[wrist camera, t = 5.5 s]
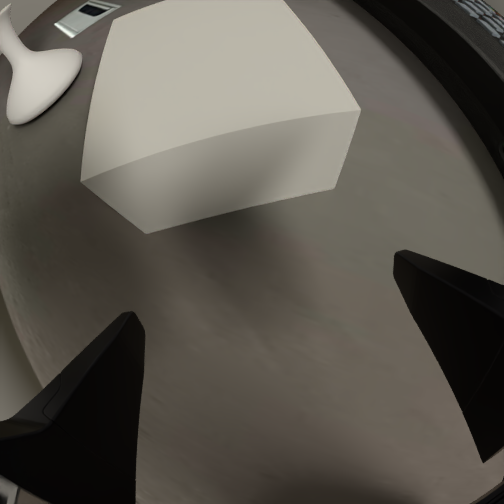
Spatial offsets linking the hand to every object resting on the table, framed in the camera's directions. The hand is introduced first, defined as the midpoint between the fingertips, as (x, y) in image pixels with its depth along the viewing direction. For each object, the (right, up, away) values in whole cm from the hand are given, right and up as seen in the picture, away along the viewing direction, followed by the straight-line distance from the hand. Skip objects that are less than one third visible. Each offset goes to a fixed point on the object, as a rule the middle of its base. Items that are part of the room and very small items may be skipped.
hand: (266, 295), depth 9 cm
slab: (-3, +11, +11) cm, 16 cm away
